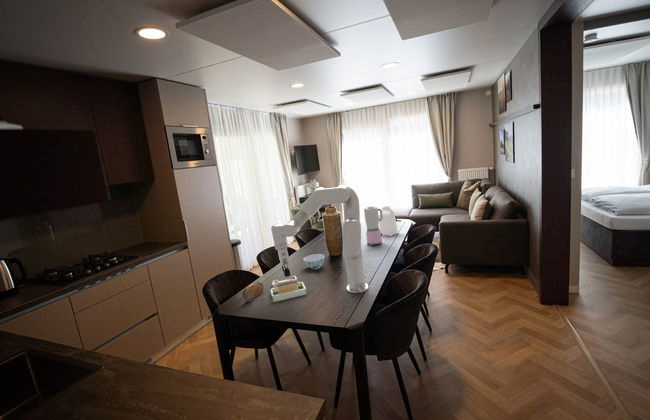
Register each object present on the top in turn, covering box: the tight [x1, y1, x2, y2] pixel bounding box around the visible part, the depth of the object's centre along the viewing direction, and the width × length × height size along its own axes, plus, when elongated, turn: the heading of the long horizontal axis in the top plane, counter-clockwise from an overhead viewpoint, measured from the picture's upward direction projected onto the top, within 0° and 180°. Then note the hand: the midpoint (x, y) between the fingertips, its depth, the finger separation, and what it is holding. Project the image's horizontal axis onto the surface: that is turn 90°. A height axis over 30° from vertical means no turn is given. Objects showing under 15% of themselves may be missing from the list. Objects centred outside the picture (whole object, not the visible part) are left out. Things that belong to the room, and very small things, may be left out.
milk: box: [378, 205, 398, 237], centre depth 279 cm, size 12×12×26 cm
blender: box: [363, 205, 383, 247], centre depth 253 cm, size 16×12×32 cm
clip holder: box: [271, 275, 299, 288], centre depth 193 cm, size 12×16×4 cm
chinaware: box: [303, 253, 325, 271], centre depth 217 cm, size 15×15×8 cm
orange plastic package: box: [241, 281, 264, 303], centre depth 180 cm, size 15×3×8 cm, turn 148°
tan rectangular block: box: [277, 278, 300, 295], centre depth 179 cm, size 3×12×7 cm, turn 105°
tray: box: [270, 281, 308, 303], centre depth 179 cm, size 12×20×3 cm, turn 105°
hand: (286, 273), depth 177 cm, fingers open, 9 cm apart
